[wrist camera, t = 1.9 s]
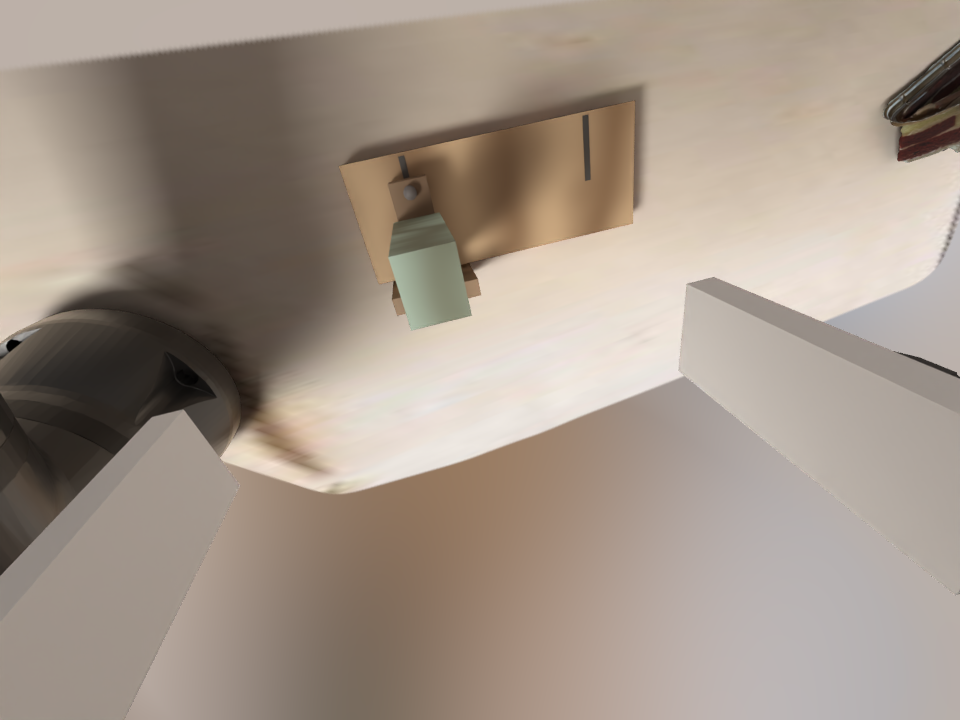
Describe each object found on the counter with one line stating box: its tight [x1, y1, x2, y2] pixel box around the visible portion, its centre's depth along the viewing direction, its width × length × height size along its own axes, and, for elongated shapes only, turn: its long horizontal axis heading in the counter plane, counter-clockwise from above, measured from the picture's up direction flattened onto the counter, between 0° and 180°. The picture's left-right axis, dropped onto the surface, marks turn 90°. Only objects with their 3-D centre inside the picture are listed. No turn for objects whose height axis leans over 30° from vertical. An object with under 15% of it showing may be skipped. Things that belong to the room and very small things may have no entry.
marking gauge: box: [388, 174, 481, 331], centre depth 23 cm, size 6×8×12 cm
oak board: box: [339, 101, 635, 284], centre depth 27 cm, size 20×8×2 cm, turn 101°
